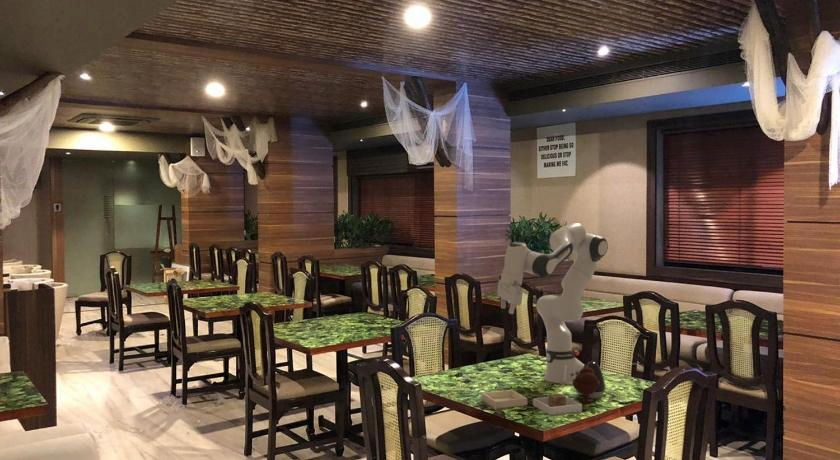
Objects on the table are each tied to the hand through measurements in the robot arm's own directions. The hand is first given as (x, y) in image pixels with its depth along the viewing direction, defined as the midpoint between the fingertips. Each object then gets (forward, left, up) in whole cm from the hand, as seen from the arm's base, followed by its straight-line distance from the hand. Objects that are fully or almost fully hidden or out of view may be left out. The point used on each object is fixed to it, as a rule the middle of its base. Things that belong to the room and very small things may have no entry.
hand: (507, 310), depth 294 cm
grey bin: (-8, +29, -36) cm, 47 cm away
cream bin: (+8, +14, -36) cm, 39 cm away
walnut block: (-8, +29, -35) cm, 46 cm away
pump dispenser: (-31, +18, -36) cm, 51 cm away
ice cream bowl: (-23, +26, -36) cm, 50 cm away
